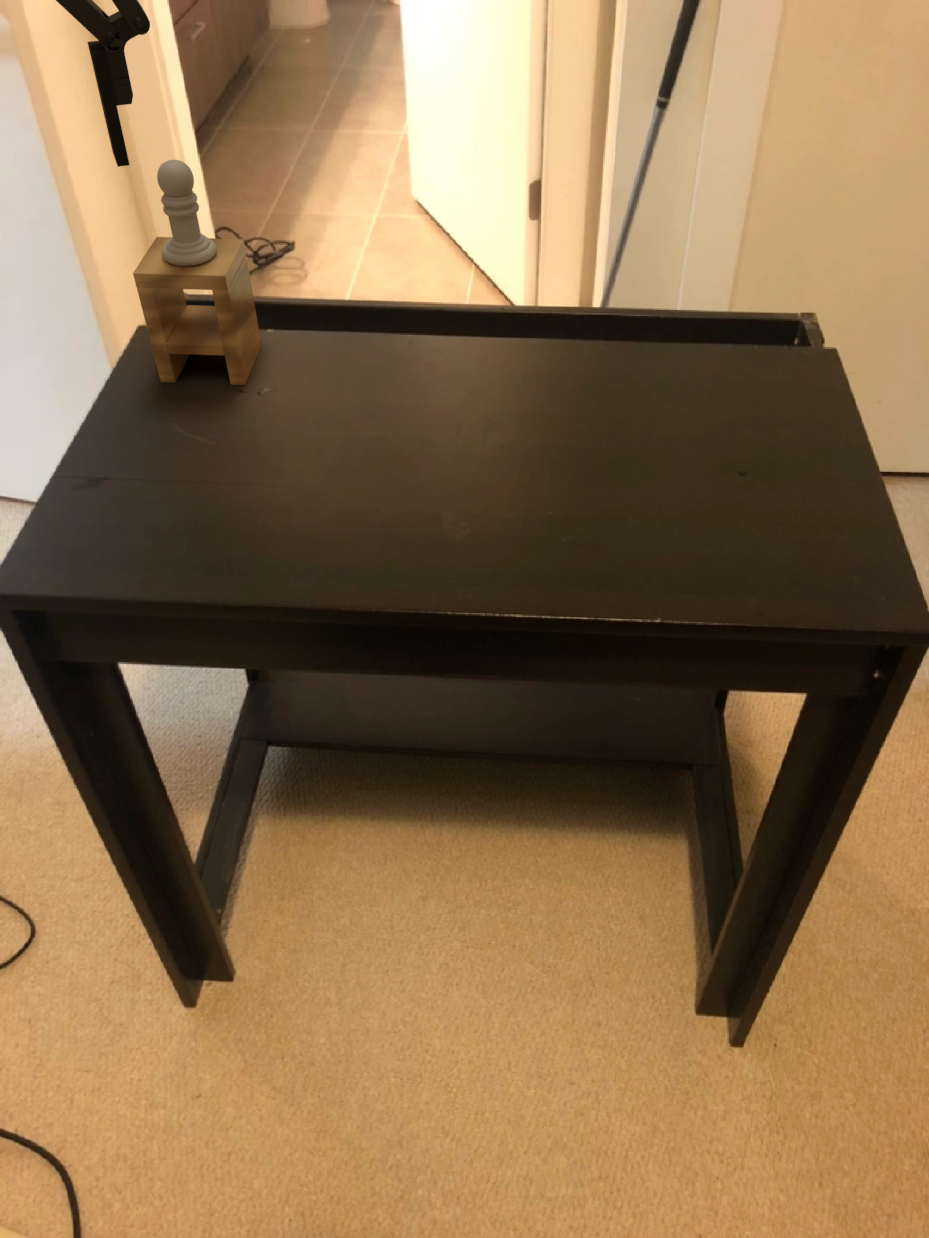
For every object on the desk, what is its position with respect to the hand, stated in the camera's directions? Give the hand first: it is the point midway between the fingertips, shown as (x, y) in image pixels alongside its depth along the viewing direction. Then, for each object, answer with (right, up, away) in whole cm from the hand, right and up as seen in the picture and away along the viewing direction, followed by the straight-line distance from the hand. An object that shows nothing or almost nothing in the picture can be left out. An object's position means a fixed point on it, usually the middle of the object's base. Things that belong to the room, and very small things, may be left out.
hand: (11, 172), depth 62 cm
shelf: (+2, -1, +43) cm, 43 cm away
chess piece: (+2, +7, +34) cm, 35 cm away
